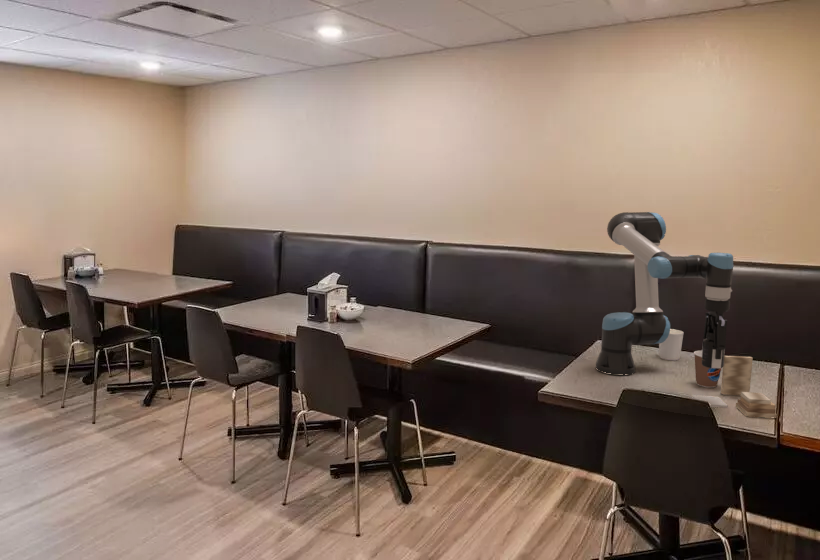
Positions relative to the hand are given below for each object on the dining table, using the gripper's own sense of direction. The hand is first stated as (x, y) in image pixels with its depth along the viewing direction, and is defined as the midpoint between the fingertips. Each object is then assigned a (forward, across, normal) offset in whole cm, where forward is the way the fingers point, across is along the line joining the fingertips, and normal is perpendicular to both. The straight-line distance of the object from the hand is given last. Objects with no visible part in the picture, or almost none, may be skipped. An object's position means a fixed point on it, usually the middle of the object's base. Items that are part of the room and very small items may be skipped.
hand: (712, 364), depth 199 cm
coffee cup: (+14, +20, -5) cm, 25 cm away
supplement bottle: (+1, 0, 0) cm, 1 cm away
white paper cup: (+14, +56, -2) cm, 58 cm away
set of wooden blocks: (+14, -1, -12) cm, 18 cm away
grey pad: (+14, 0, 0) cm, 14 cm away
